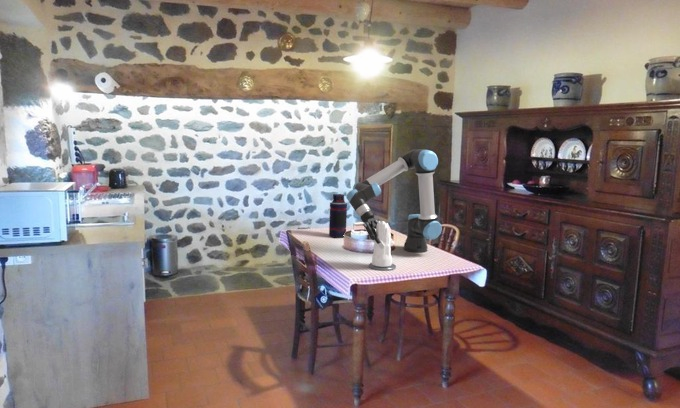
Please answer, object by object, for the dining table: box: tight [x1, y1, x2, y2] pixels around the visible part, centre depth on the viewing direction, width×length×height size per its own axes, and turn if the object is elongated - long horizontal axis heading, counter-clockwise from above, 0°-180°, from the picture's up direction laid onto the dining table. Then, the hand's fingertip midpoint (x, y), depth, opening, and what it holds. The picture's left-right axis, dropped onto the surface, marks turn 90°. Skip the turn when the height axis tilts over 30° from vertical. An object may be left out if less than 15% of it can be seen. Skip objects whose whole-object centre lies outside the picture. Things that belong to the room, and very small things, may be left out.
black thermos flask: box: [328, 193, 348, 239], centre depth 341 cm, size 14×12×30 cm
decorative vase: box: [371, 220, 393, 267], centre depth 267 cm, size 11×11×25 cm
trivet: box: [368, 262, 397, 272], centre depth 269 cm, size 15×15×1 cm
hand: (388, 246), depth 266 cm, fingers closed on decorative vase, 9 cm apart
